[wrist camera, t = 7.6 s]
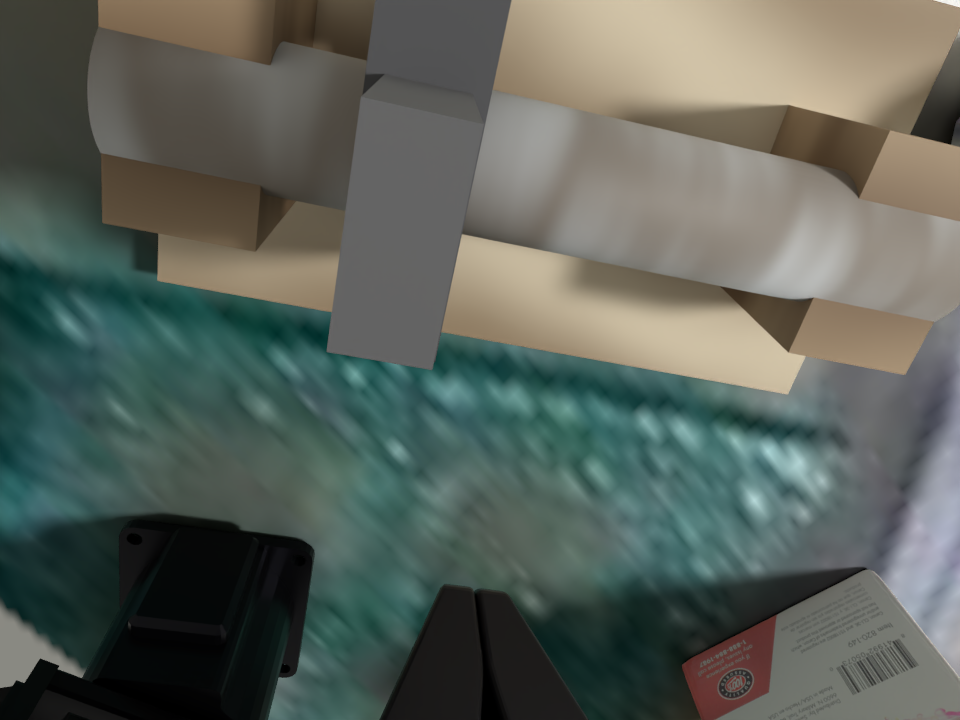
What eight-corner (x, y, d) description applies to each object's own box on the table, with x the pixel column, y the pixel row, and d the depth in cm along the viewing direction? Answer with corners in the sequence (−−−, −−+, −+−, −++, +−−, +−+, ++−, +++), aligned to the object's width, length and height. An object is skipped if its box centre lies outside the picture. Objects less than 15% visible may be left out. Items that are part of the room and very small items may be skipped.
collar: (437, 257, 19) (432, 471, 10) (364, 242, 19) (290, 449, 10) (489, -2, 16) (545, -26, 7) (404, -23, 16) (353, -76, 7)
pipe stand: (774, 379, 23) (879, 495, 17) (170, 268, 20) (67, 363, 14) (942, 10, 18) (1162, 7, 12) (182, -197, 15) (35, -317, 10)
